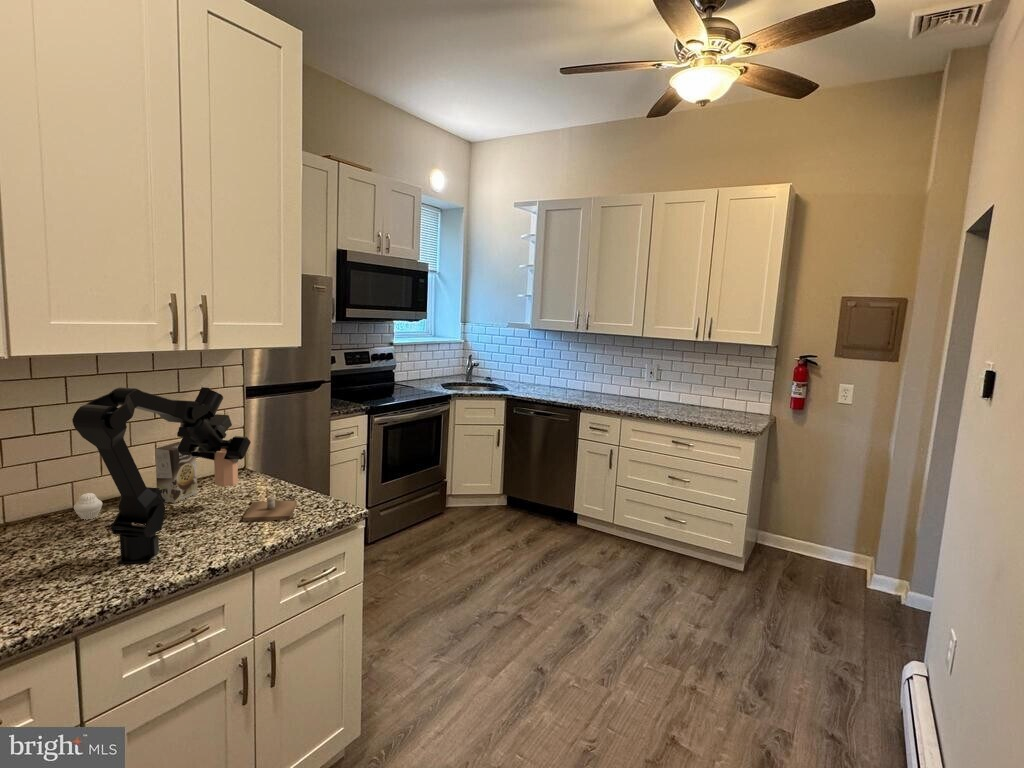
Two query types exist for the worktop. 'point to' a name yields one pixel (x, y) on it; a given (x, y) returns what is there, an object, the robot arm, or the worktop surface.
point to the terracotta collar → (224, 470)
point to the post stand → (270, 510)
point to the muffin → (88, 506)
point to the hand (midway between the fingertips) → (227, 460)
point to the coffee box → (175, 473)
